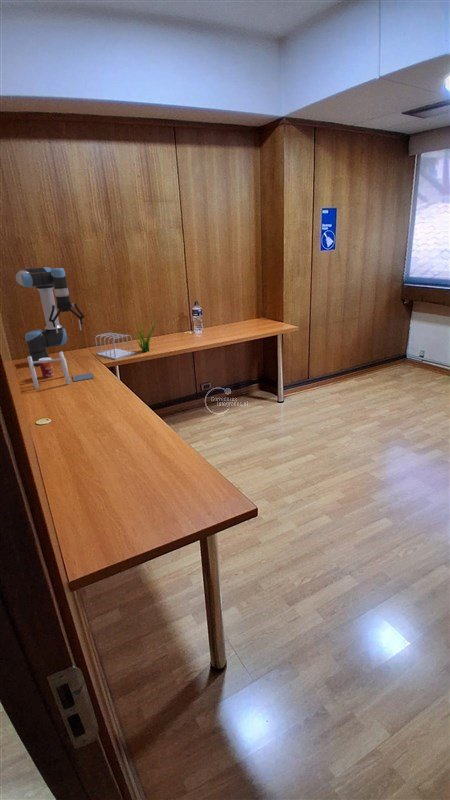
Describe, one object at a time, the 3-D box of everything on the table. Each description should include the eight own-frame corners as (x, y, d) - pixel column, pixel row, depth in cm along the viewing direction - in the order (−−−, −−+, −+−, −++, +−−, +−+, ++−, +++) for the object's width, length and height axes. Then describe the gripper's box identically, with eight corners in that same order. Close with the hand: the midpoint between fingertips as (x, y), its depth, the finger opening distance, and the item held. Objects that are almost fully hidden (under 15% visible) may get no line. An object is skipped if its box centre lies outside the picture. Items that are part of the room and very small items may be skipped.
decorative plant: (155, 320, 285) (135, 315, 282) (148, 355, 302) (129, 350, 299) (158, 310, 300) (139, 305, 297) (151, 344, 316) (132, 339, 313)
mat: (72, 376, 251) (72, 375, 251) (92, 373, 255) (92, 372, 255) (73, 381, 241) (73, 380, 241) (94, 378, 245) (93, 377, 245)
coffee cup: (50, 383, 251) (45, 360, 246) (39, 383, 253) (34, 360, 248) (59, 379, 258) (54, 357, 253) (48, 378, 261) (44, 356, 255)
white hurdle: (33, 381, 247) (27, 356, 242) (69, 375, 255) (64, 351, 249) (31, 390, 230) (25, 364, 224) (70, 384, 237) (65, 358, 231)
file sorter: (96, 356, 300) (92, 335, 295) (116, 350, 312) (112, 331, 306) (115, 360, 284) (112, 339, 279) (135, 354, 296) (132, 334, 291)
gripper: (39, 298, 227) (47, 335, 235) (84, 294, 236) (91, 329, 244) (39, 297, 234) (47, 332, 242) (83, 293, 242) (89, 327, 250)
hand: (69, 331), depth 243 cm, fingers open, 13 cm apart
